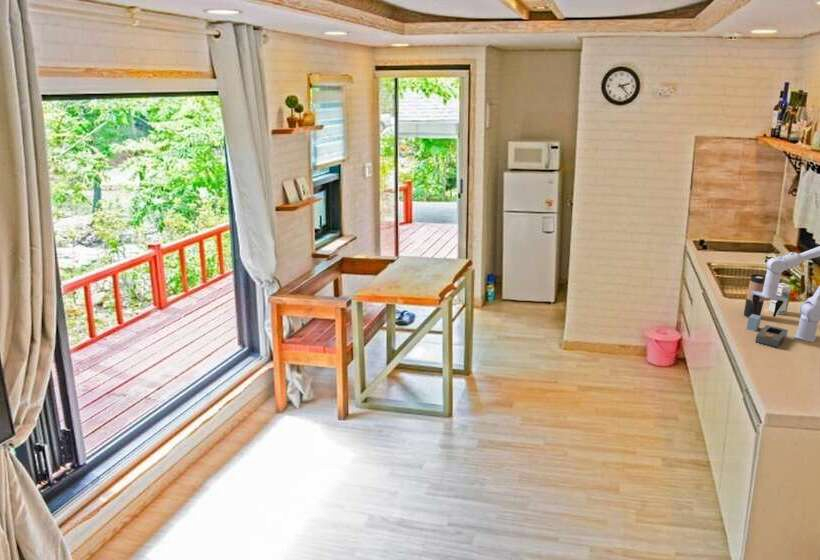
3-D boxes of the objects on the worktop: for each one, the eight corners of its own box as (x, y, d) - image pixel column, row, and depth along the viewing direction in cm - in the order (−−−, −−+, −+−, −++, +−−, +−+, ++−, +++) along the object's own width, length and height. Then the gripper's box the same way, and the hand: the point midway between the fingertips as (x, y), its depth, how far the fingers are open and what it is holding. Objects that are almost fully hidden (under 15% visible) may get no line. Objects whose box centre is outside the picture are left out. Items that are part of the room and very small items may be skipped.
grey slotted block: (764, 332, 331) (766, 323, 330) (786, 337, 326) (788, 328, 324) (755, 342, 317) (756, 333, 316) (777, 348, 312) (779, 339, 311)
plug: (749, 326, 338) (752, 313, 337) (758, 328, 336) (761, 316, 334) (746, 329, 334) (748, 317, 332) (755, 331, 331) (758, 319, 330)
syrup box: (777, 314, 356) (783, 286, 352) (767, 310, 362) (773, 282, 357) (786, 314, 358) (792, 286, 354) (776, 310, 363) (782, 282, 359)
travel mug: (763, 317, 351) (771, 277, 345) (754, 319, 347) (762, 279, 341) (748, 312, 357) (756, 273, 351) (739, 314, 353) (747, 275, 347)
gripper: (751, 283, 322) (745, 312, 326) (787, 290, 314) (780, 320, 318) (755, 280, 328) (749, 308, 332) (790, 287, 320) (784, 316, 324)
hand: (765, 314), depth 325 cm, fingers open, 7 cm apart
